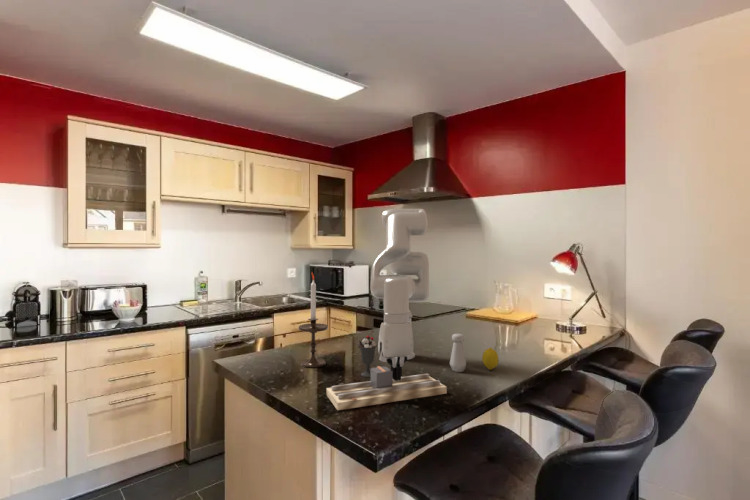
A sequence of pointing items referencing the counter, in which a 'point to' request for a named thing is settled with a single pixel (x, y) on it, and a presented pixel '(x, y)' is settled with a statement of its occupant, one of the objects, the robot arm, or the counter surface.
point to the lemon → (490, 358)
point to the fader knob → (381, 377)
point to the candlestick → (313, 331)
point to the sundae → (367, 353)
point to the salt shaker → (458, 354)
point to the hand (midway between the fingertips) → (396, 379)
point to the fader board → (384, 392)
